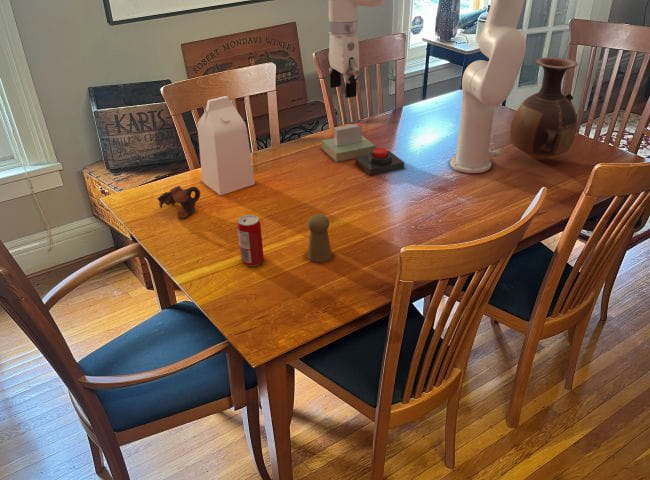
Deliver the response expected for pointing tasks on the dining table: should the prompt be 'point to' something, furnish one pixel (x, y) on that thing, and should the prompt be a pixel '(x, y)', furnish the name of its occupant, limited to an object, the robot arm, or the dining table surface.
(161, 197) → the brown animal figurine
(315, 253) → the brown pawn
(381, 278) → the dining table surface
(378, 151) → the tap button
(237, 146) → the milk
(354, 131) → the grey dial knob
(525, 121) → the vase
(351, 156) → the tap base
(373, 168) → the button block
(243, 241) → the soda can
